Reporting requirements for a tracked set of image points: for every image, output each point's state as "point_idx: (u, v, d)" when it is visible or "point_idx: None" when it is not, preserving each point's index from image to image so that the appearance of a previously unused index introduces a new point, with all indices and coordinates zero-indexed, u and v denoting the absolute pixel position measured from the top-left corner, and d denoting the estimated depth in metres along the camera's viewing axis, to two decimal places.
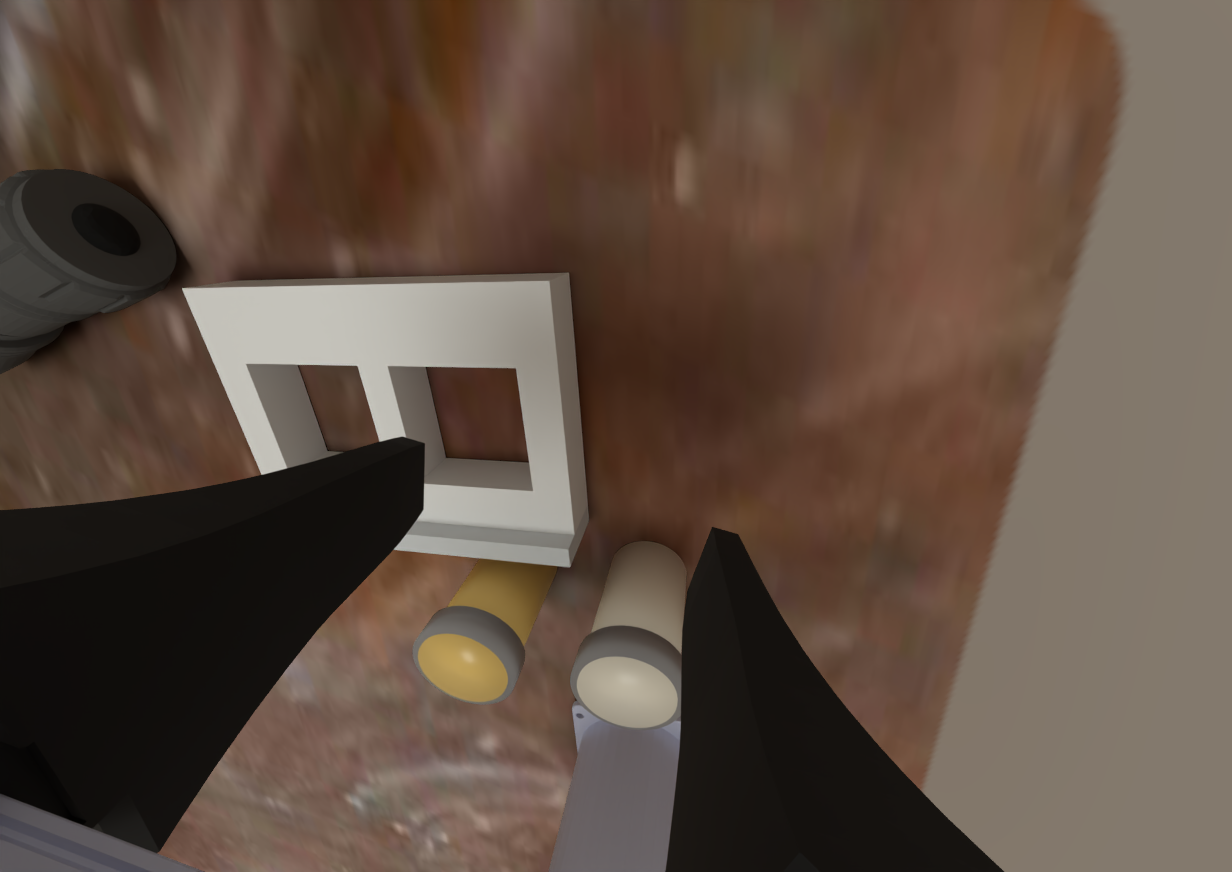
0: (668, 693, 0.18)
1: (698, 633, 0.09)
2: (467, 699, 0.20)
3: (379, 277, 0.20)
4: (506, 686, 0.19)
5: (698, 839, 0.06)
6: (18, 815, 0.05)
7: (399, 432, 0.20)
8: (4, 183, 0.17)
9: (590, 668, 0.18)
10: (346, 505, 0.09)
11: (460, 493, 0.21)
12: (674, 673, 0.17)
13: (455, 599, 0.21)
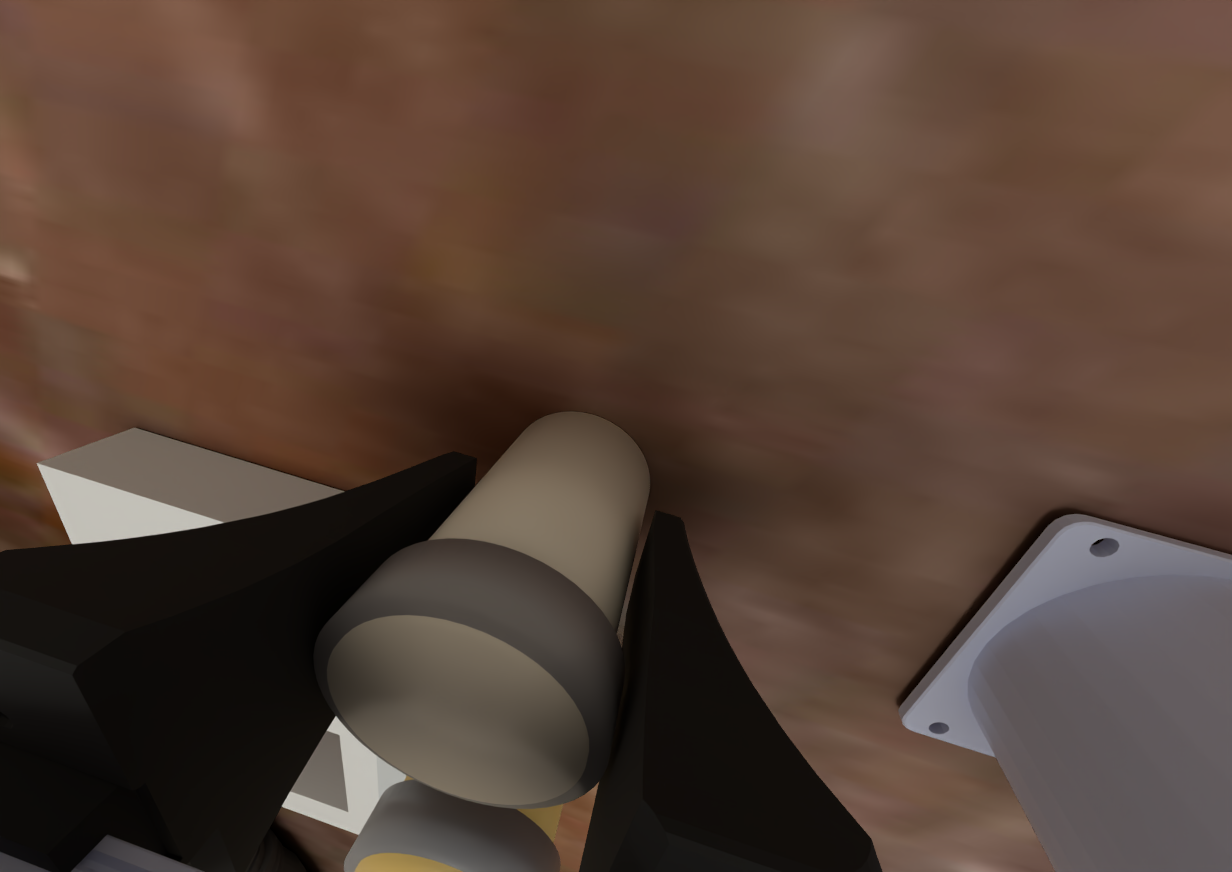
0: (428, 638, 0.06)
1: (634, 613, 0.09)
2: None
3: None
4: None
5: (603, 806, 0.06)
6: (132, 858, 0.05)
7: None
8: None
9: (378, 747, 0.07)
10: (409, 524, 0.09)
11: None
12: (370, 596, 0.06)
13: None
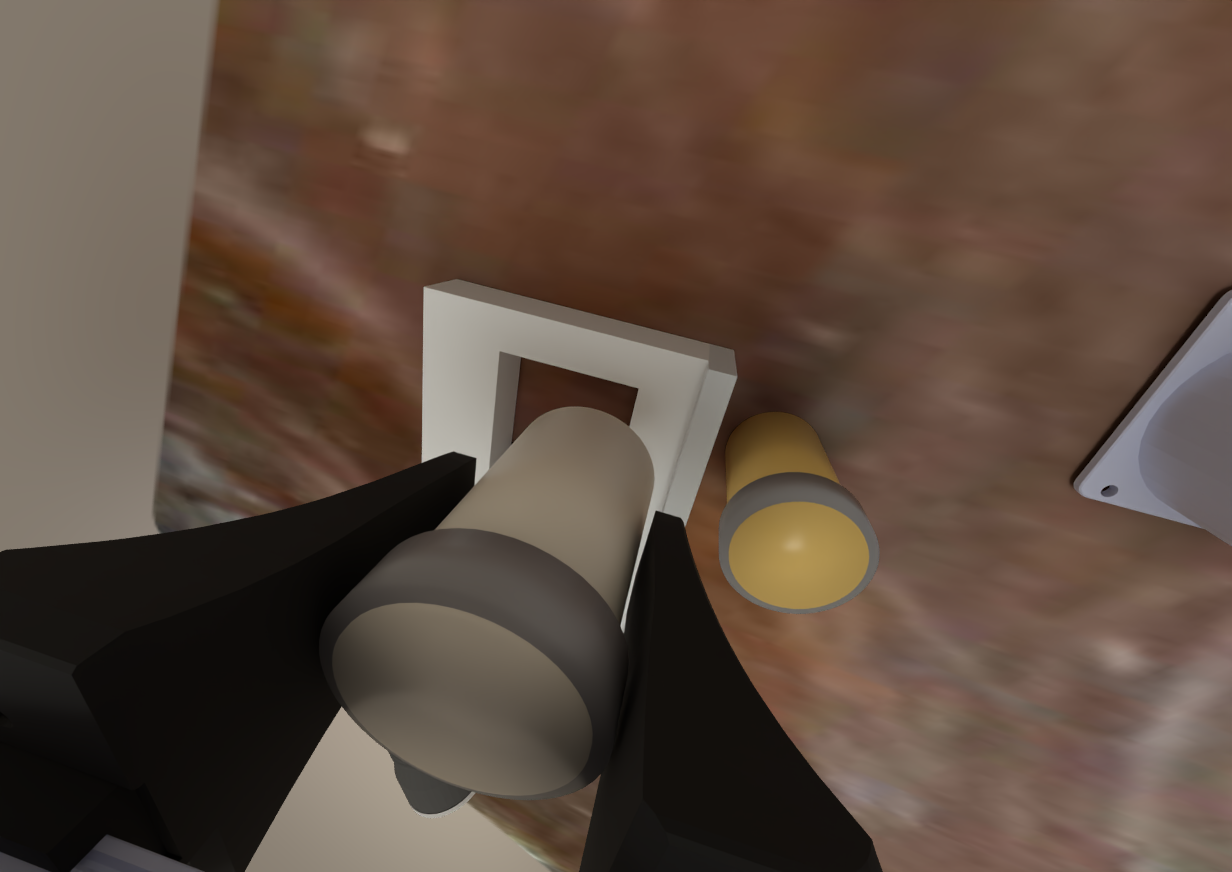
0: (437, 626, 0.06)
1: (634, 613, 0.09)
2: (858, 580, 0.14)
3: None
4: (845, 515, 0.13)
5: (604, 806, 0.06)
6: (132, 858, 0.05)
7: None
8: None
9: (380, 735, 0.07)
10: (409, 524, 0.09)
11: None
12: (379, 583, 0.06)
13: None
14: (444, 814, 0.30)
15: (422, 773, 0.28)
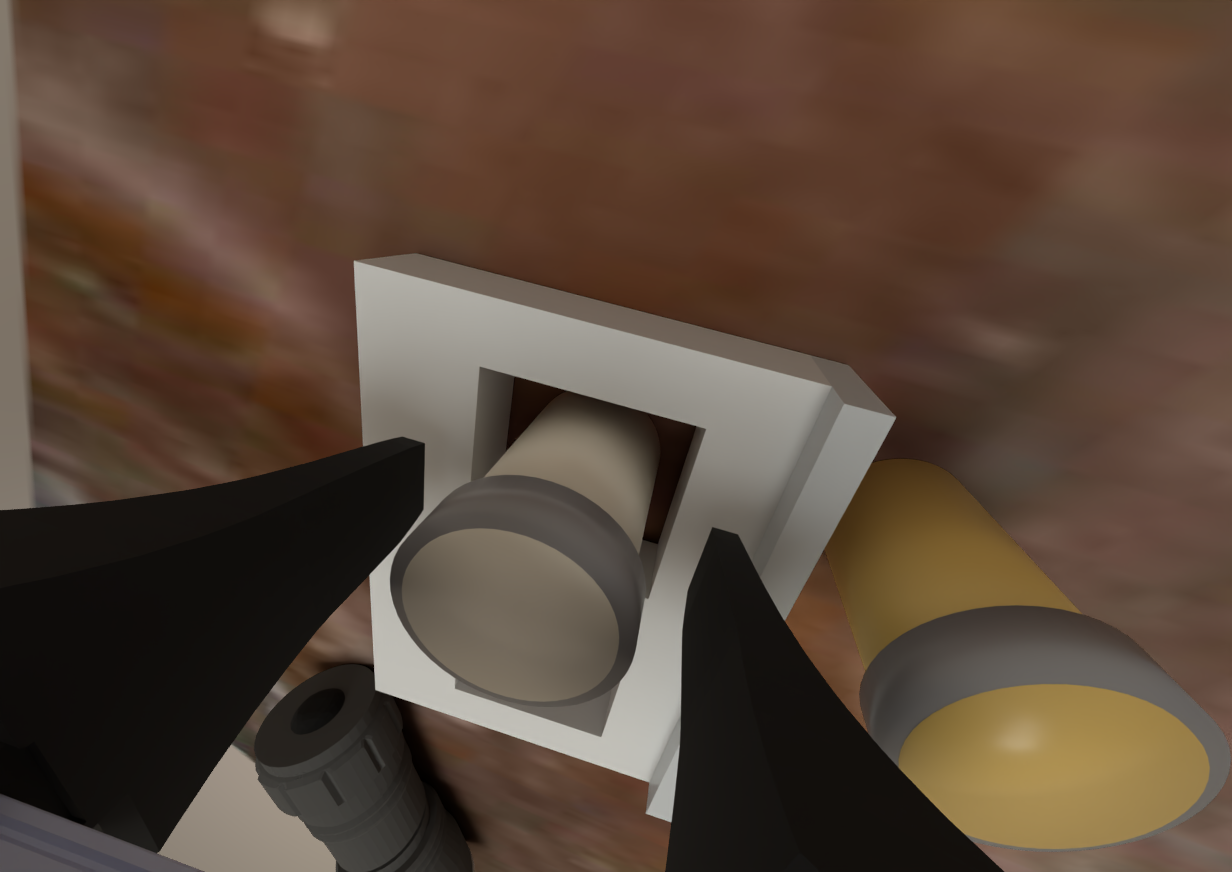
0: (495, 547, 0.07)
1: (698, 633, 0.09)
2: (1163, 820, 0.07)
3: None
4: (1175, 718, 0.06)
5: (698, 839, 0.06)
6: (18, 814, 0.05)
7: None
8: (256, 756, 0.19)
9: (437, 651, 0.09)
10: (346, 505, 0.09)
11: (680, 549, 0.12)
12: (447, 513, 0.07)
13: (865, 670, 0.10)
14: None
15: None
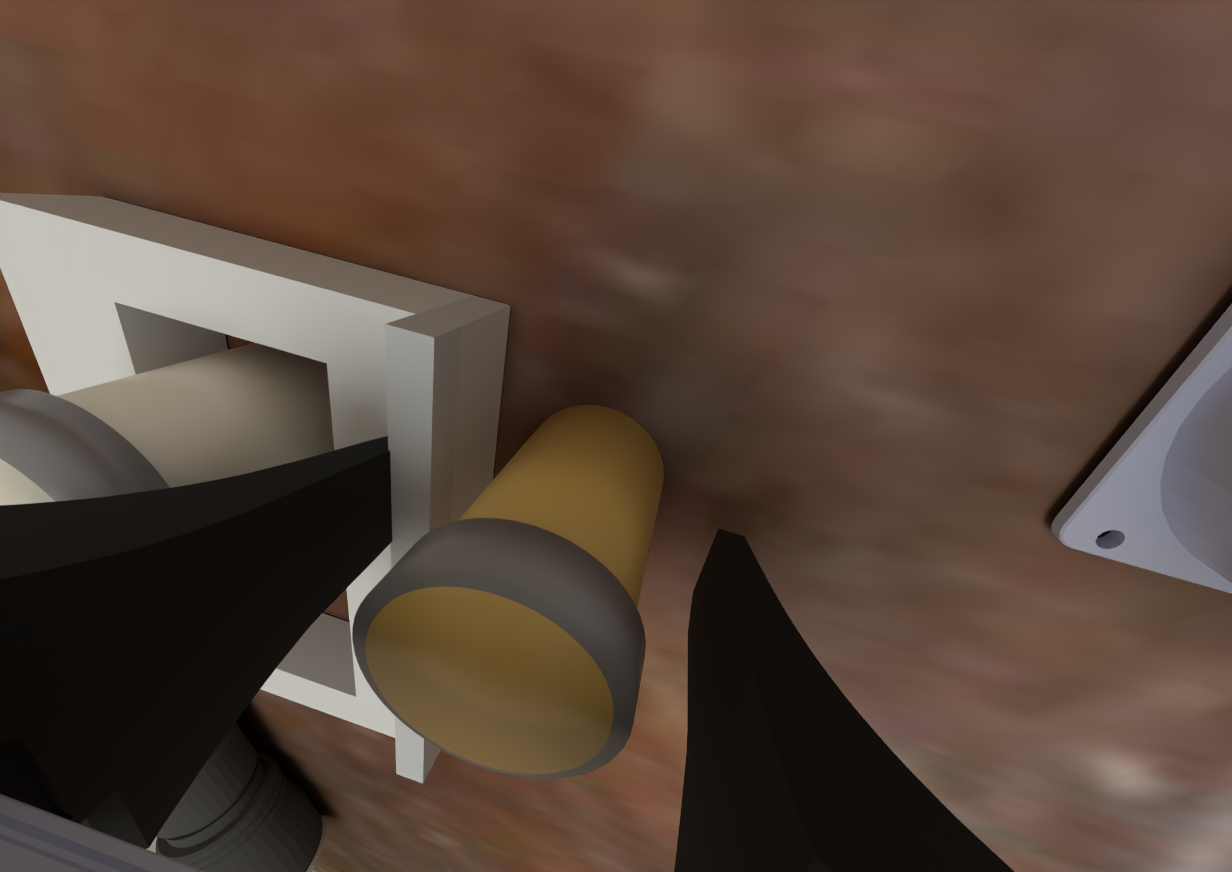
0: None
1: (705, 635, 0.09)
2: (603, 738, 0.07)
3: None
4: (543, 620, 0.06)
5: (708, 842, 0.06)
6: (3, 809, 0.05)
7: None
8: None
9: None
10: (338, 502, 0.09)
11: None
12: None
13: None
14: None
15: None
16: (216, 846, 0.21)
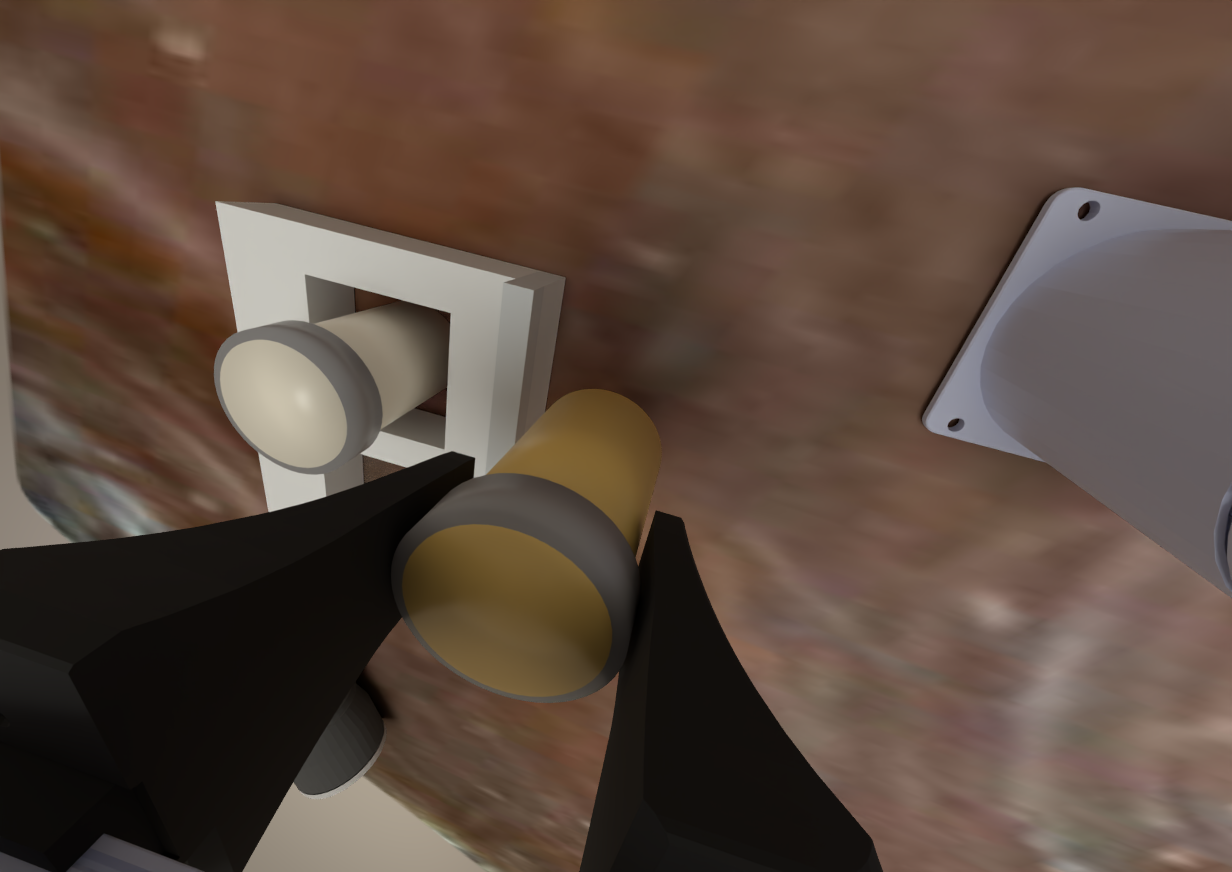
0: (263, 350, 0.13)
1: None
2: (604, 659, 0.08)
3: None
4: (554, 551, 0.07)
5: (604, 806, 0.06)
6: (129, 857, 0.05)
7: (385, 438, 0.19)
8: None
9: (250, 435, 0.14)
10: (408, 524, 0.09)
11: (456, 406, 0.18)
12: None
13: None
14: (331, 795, 0.28)
15: None
16: None
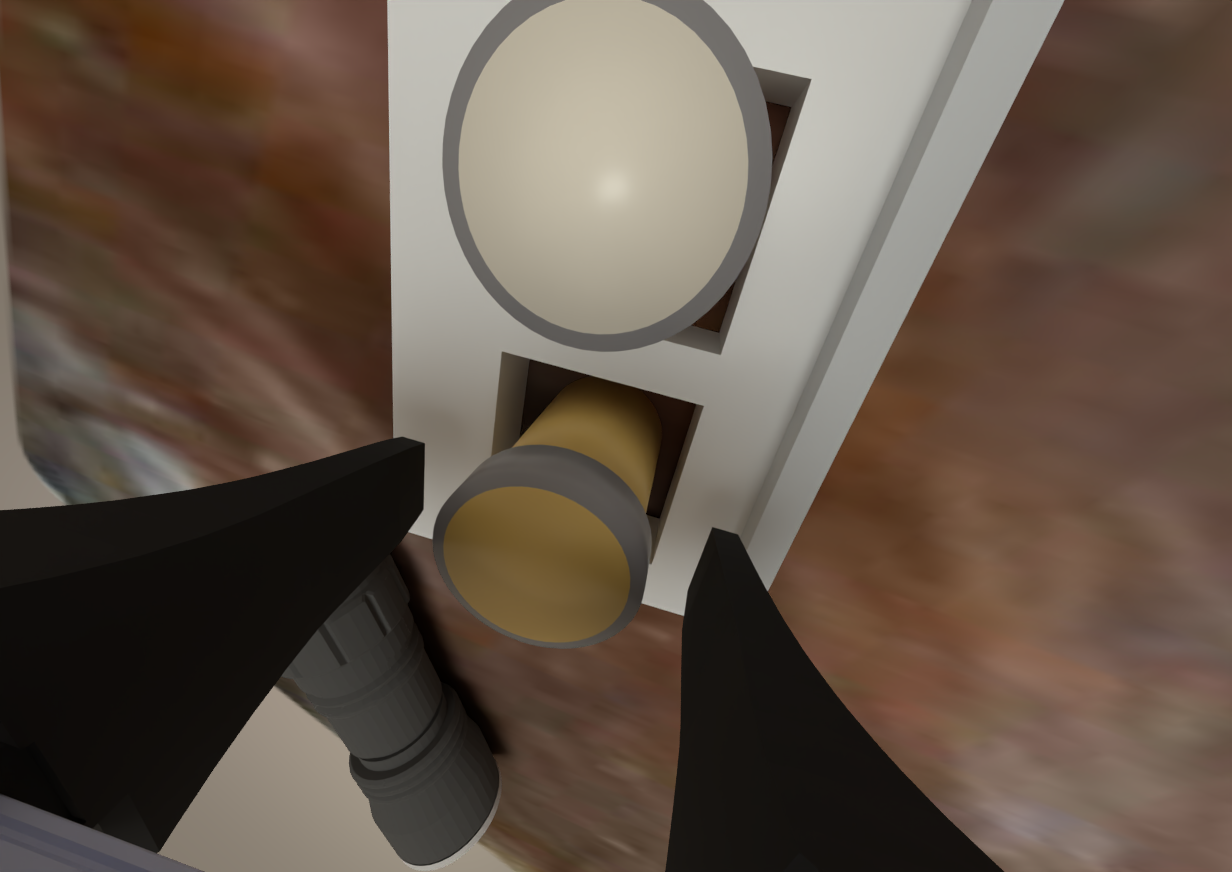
0: (594, 27, 0.06)
1: (698, 633, 0.09)
2: (622, 603, 0.09)
3: None
4: (581, 507, 0.09)
5: (698, 839, 0.06)
6: (18, 815, 0.05)
7: None
8: None
9: (498, 264, 0.07)
10: (346, 505, 0.09)
11: (765, 273, 0.10)
12: None
13: None
14: (444, 864, 0.21)
15: (404, 808, 0.20)
16: (420, 767, 0.19)
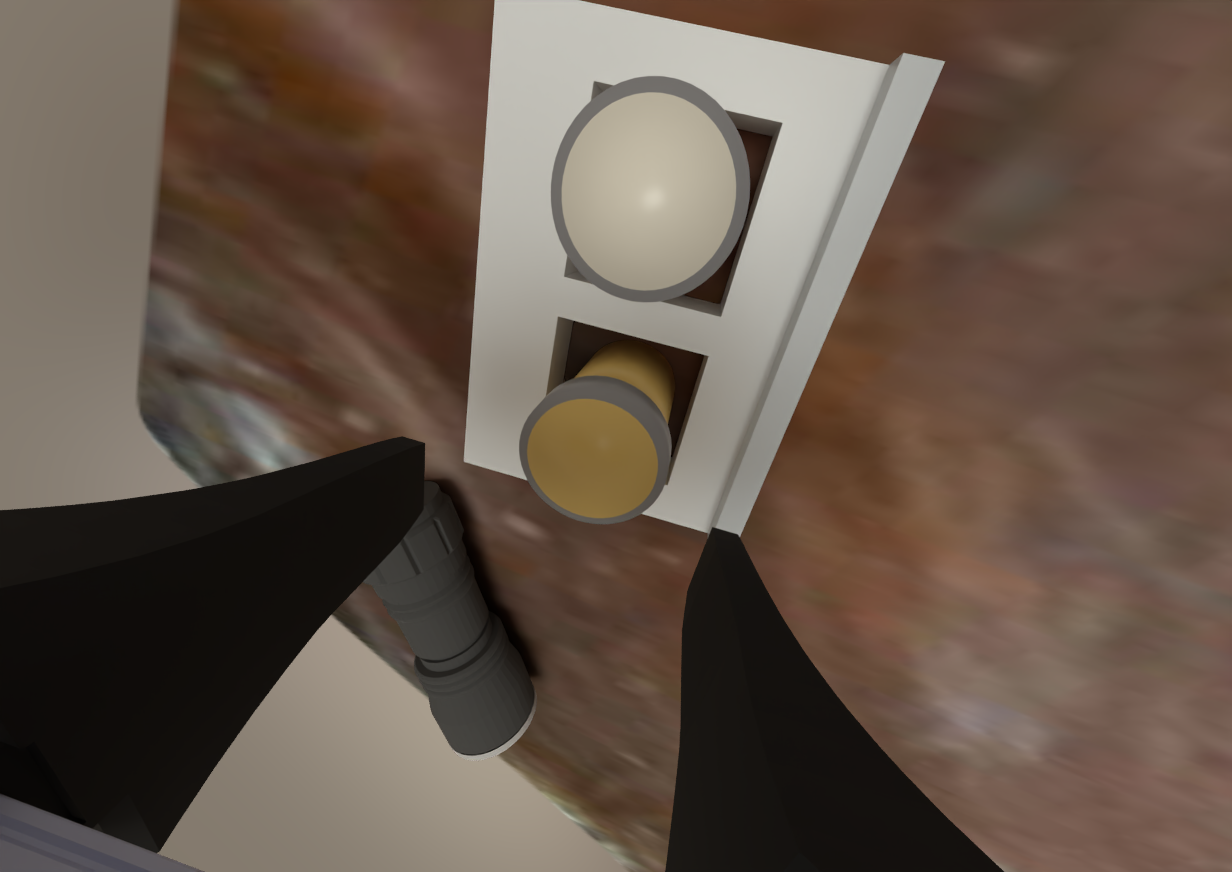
0: (648, 109, 0.10)
1: (698, 633, 0.09)
2: (652, 483, 0.14)
3: None
4: (626, 412, 0.13)
5: (698, 839, 0.06)
6: (18, 815, 0.05)
7: (645, 305, 0.16)
8: None
9: (582, 246, 0.11)
10: (346, 505, 0.09)
11: (753, 256, 0.15)
12: (610, 88, 0.10)
13: None
14: (492, 755, 0.25)
15: (461, 703, 0.24)
16: (474, 668, 0.24)
